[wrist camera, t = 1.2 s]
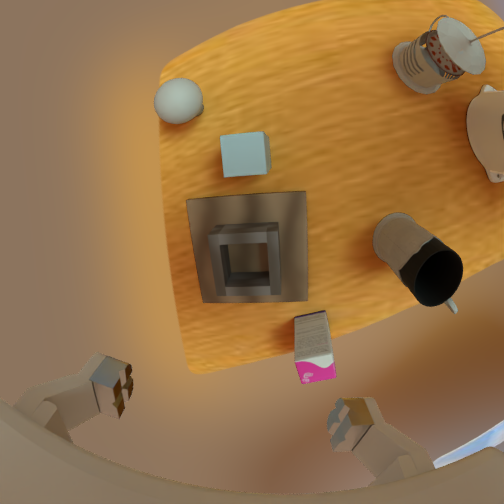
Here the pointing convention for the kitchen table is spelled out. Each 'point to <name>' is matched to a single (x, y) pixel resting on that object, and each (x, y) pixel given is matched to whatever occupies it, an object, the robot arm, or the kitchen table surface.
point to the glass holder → (419, 260)
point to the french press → (439, 56)
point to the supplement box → (313, 348)
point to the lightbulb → (178, 101)
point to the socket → (251, 247)
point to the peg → (245, 154)
